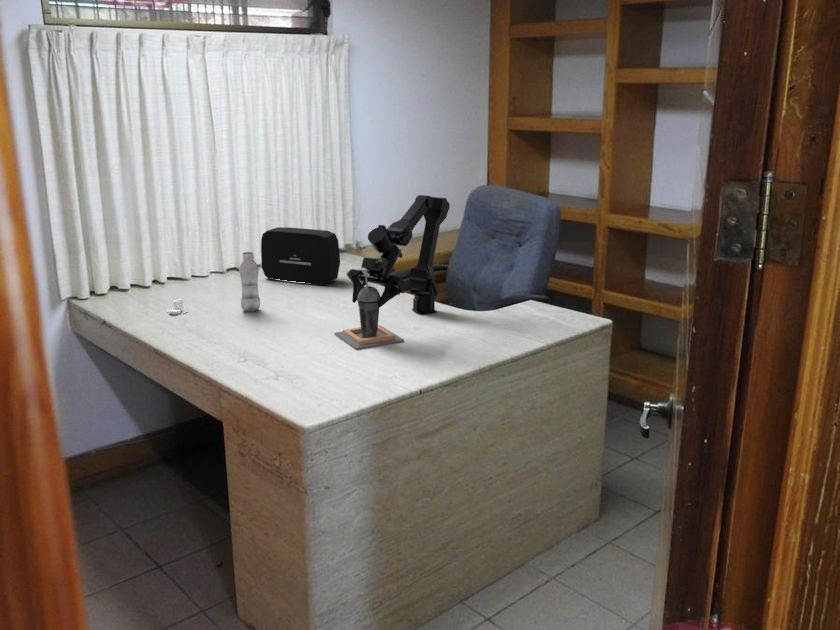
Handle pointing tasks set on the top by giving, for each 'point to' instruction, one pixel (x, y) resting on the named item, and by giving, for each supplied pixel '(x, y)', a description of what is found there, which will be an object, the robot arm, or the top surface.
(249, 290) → the plastic bottle
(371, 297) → the beverage cup
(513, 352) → the top surface
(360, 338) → the cup dock
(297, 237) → the black hard case
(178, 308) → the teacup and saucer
